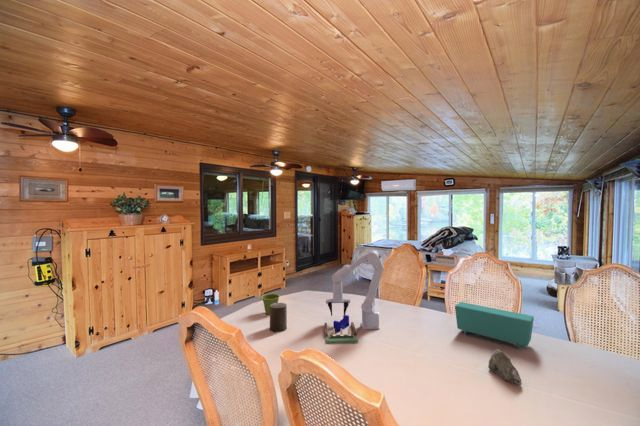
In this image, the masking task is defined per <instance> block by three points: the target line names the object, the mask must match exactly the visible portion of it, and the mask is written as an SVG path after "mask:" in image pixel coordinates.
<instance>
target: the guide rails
mask: <svg viewBox="0 0 640 426" xmlns="http://www.w3.org/2000/svg"><path fill="white" fill-rule="evenodd" d="M350 325H351V329H352V332H353V336H357V337H358V332H357V329H356V326H355V324H354V322H353V321H351V322H350ZM328 332H329V331H328V324H327V322H324V335H325V338H326V337H329V336H328V335H329V333H328Z"/></svg>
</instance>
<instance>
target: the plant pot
mask: <svg viewBox="0 0 640 426" xmlns="http://www.w3.org/2000/svg"><path fill="white" fill-rule="evenodd" d="M280 297H281V296H280V295H279V294H277V293H267V294H263V295H262V296H261V299H262V302H263V308H264V312H265V315H268V316H270V305H271V304H273V303H279V301H280V300H279V299H280Z"/></svg>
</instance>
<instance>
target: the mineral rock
mask: <svg viewBox="0 0 640 426" xmlns="http://www.w3.org/2000/svg"><path fill="white" fill-rule="evenodd" d="M489 358H490V359H489V361H488V367H487V368H488V369H489V370H491V371H493V372H494V373H495V374H496V375H498V376H499V377H500V378H503V380H504V381H509V382H512V383H513V384H514V383H515V384H517V385H519V386H521V385H522V379H521V376H520V373H519V371H518V369H517V368H516V367H515V366H514V365H513V364H512V361H511V357H510V356H509V355H508V354H506V353H505V351H501V350H500V349H497V348H496V349H495V350H494V351H493V352H492V353H491V356H490V357H489Z"/></svg>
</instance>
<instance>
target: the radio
mask: <svg viewBox="0 0 640 426" xmlns="http://www.w3.org/2000/svg"><path fill="white" fill-rule="evenodd" d="M454 309H455V317H456V328H457V329H458V330H461V331H464V333H463V334H464V335H466V334H467V332H469V333H473V334H477V335H481V336H484V337H488V338H493V339H496V340H501V341H504V342H507V343H511V344H515V346H516V347H517V349H519V350H521V349H522V348H524V347H528V346H529V344H530V342H531V340H532V333H533V325H534V321H535V320H534V316H533V315H528V314H524V313H520V312H515V311H508V310H505V309H504V310H503V309H500V308H499V309H498V308H494V307H488V306H483V305H479V304H474V303H473V304H472V303H468V302H463V301H460V302H458V303H457V304H456V305H455V306H454Z"/></svg>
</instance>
